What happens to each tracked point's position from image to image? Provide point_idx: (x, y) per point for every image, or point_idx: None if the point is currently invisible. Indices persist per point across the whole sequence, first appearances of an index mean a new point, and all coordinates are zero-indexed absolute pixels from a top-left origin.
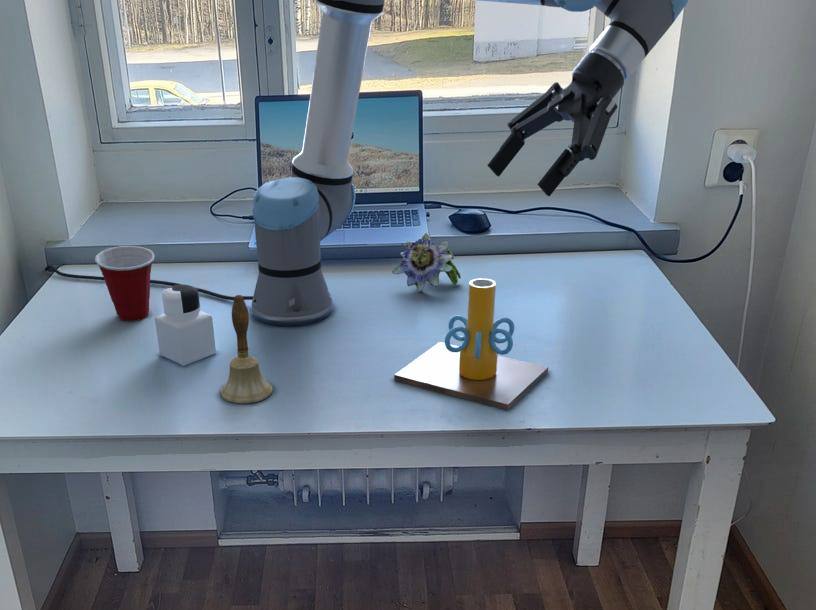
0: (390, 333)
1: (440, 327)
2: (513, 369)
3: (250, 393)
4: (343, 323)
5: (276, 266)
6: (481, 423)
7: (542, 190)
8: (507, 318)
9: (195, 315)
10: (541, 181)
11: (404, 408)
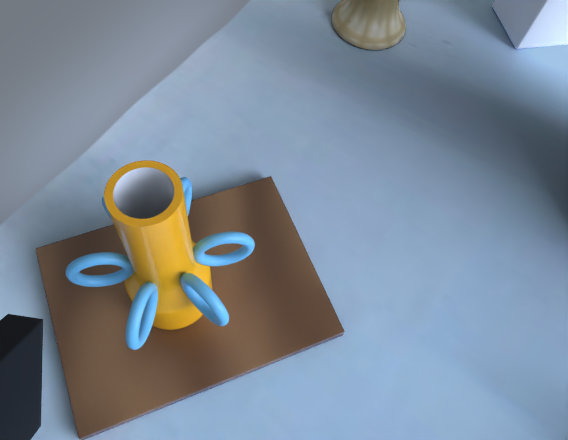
0: (459, 299)
1: (434, 410)
2: (130, 363)
3: (341, 5)
4: (550, 257)
5: None
6: (45, 191)
7: (39, 378)
8: (130, 315)
9: None
10: (8, 329)
11: (177, 138)
